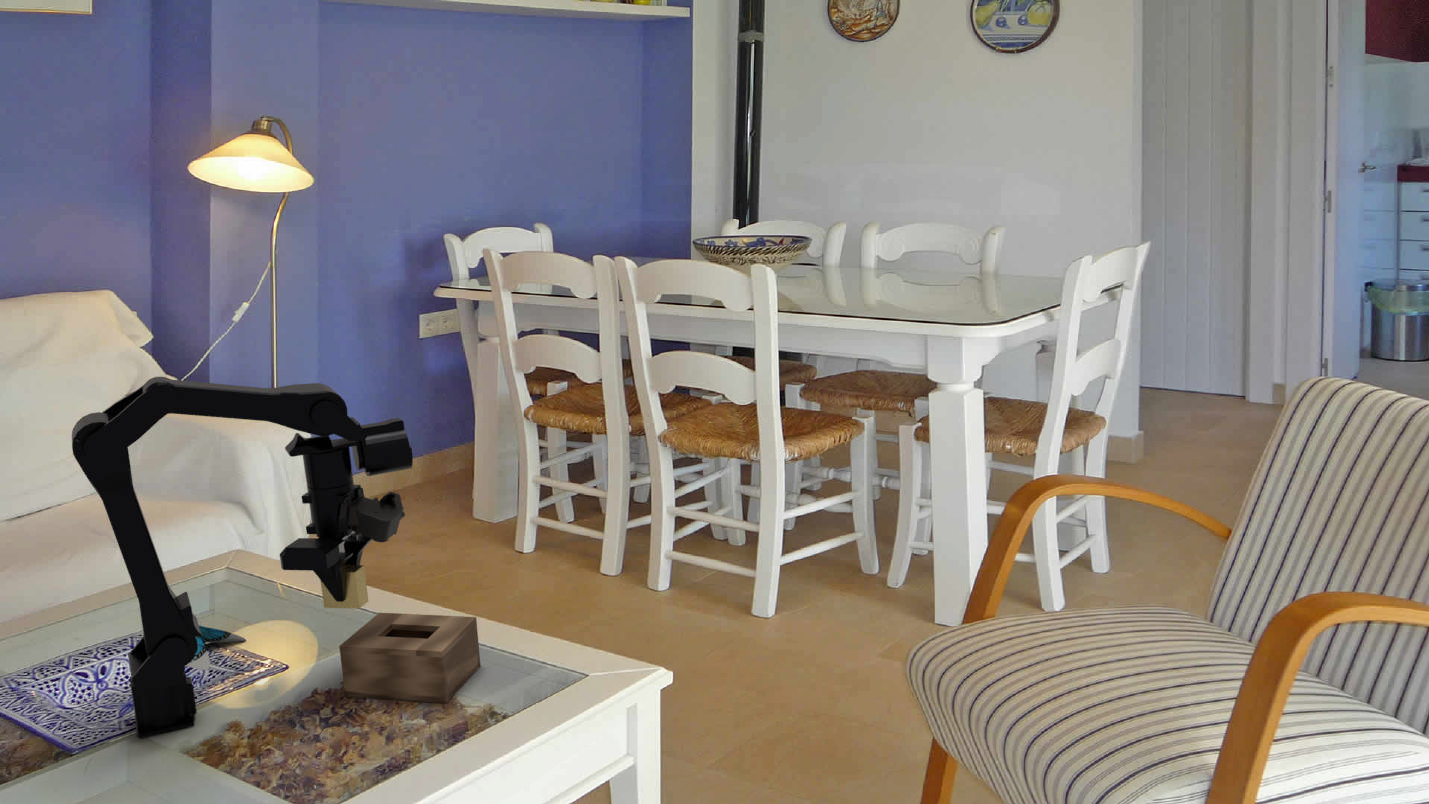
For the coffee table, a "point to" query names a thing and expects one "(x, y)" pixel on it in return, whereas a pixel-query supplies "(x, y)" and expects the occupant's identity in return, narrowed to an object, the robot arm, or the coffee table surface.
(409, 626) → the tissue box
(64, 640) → the coffee table surface
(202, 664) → the decorative butterfly
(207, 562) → the coffee table surface
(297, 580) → the coffee table surface
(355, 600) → the wooden plank piece
